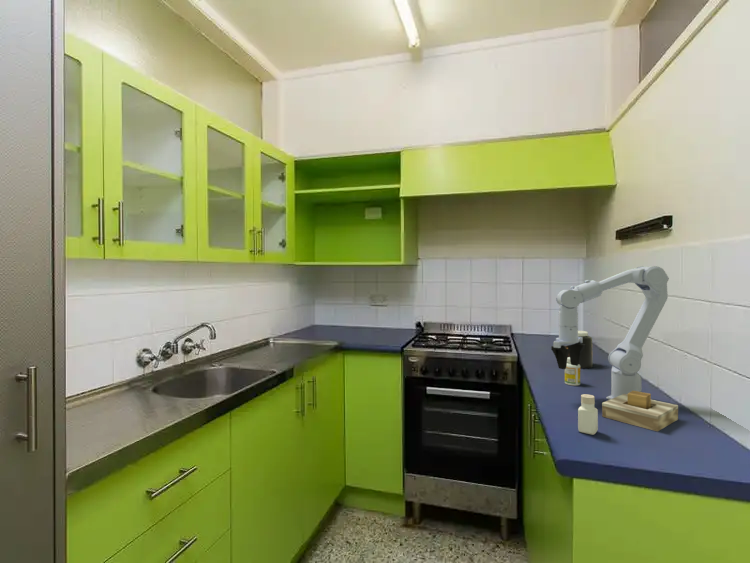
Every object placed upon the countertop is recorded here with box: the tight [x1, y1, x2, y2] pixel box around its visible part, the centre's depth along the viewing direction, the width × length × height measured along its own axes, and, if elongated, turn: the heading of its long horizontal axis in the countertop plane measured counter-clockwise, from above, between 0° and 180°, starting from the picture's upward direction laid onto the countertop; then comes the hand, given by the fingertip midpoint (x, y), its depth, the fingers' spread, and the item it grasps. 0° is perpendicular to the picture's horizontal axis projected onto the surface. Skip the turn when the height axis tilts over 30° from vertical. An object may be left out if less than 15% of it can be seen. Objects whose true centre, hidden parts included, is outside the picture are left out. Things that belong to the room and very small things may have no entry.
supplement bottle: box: [564, 357, 581, 387], centre depth 151 cm, size 5×5×10 cm
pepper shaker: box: [577, 393, 599, 435], centre depth 107 cm, size 4×4×10 cm
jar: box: [564, 330, 594, 369], centre depth 179 cm, size 12×12×15 cm
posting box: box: [601, 394, 679, 432], centre depth 116 cm, size 14×14×4 cm
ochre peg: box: [628, 391, 652, 410], centre depth 116 cm, size 4×4×7 cm
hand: (568, 366), depth 135 cm, fingers open, 7 cm apart
